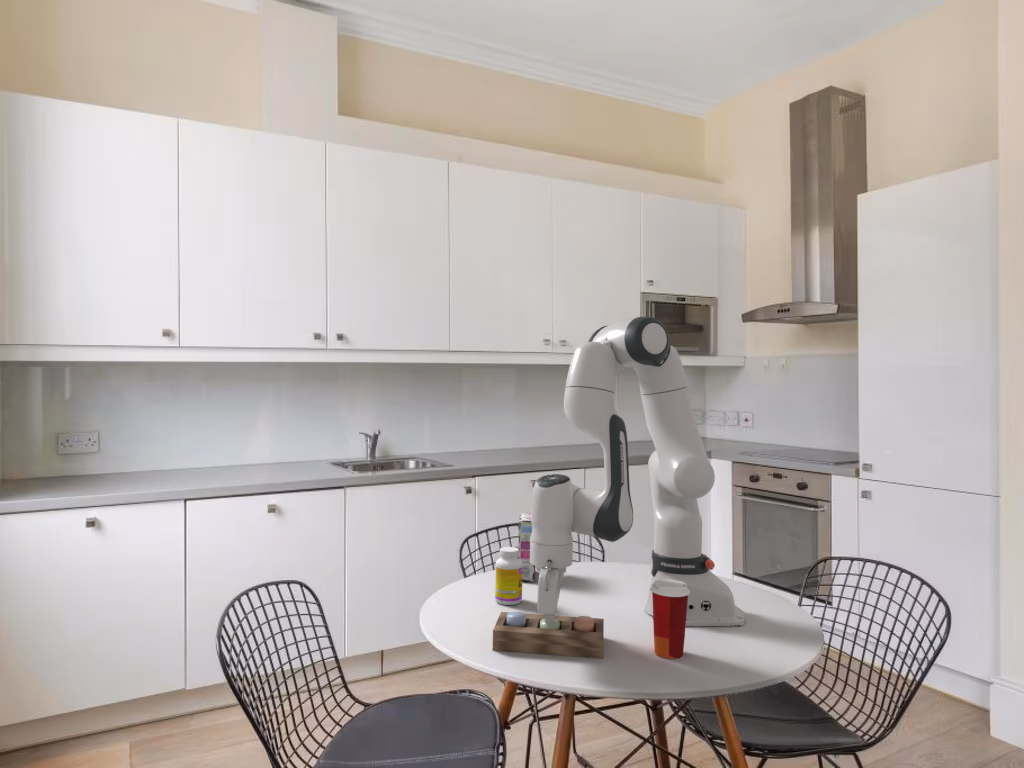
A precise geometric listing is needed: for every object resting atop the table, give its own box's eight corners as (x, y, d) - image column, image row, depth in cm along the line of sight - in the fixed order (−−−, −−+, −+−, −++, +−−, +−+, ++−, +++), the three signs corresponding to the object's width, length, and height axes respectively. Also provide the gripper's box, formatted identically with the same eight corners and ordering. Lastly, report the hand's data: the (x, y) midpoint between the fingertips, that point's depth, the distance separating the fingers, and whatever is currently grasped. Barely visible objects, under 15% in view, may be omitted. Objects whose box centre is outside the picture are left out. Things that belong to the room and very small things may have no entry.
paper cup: (687, 648, 141) (689, 580, 141) (688, 663, 134) (690, 591, 133) (649, 644, 143) (650, 577, 143) (647, 658, 135) (649, 588, 135)
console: (603, 637, 146) (603, 618, 146) (603, 658, 135) (603, 638, 135) (500, 630, 149) (501, 611, 149) (492, 650, 138) (492, 630, 138)
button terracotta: (593, 628, 143) (594, 616, 143) (593, 635, 139) (593, 623, 139) (574, 627, 143) (574, 615, 143) (573, 634, 139) (573, 622, 139)
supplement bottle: (521, 606, 164) (522, 553, 164) (494, 605, 165) (495, 552, 164) (522, 597, 171) (523, 546, 171) (495, 596, 171) (496, 545, 171)
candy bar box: (535, 582, 184) (537, 521, 183) (517, 582, 184) (518, 520, 184) (535, 570, 195) (536, 512, 195) (517, 570, 195) (519, 512, 195)
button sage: (559, 631, 144) (560, 619, 144) (558, 638, 140) (558, 626, 140) (540, 629, 144) (541, 617, 144) (539, 636, 140) (539, 624, 140)
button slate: (526, 624, 145) (527, 612, 144) (524, 631, 141) (524, 618, 141) (507, 622, 145) (508, 610, 145) (505, 629, 141) (505, 617, 141)
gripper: (563, 569, 131) (562, 641, 131) (569, 543, 151) (567, 606, 151) (530, 567, 132) (529, 639, 132) (540, 542, 152) (539, 604, 152)
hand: (549, 621), depth 142 cm, fingers closed
